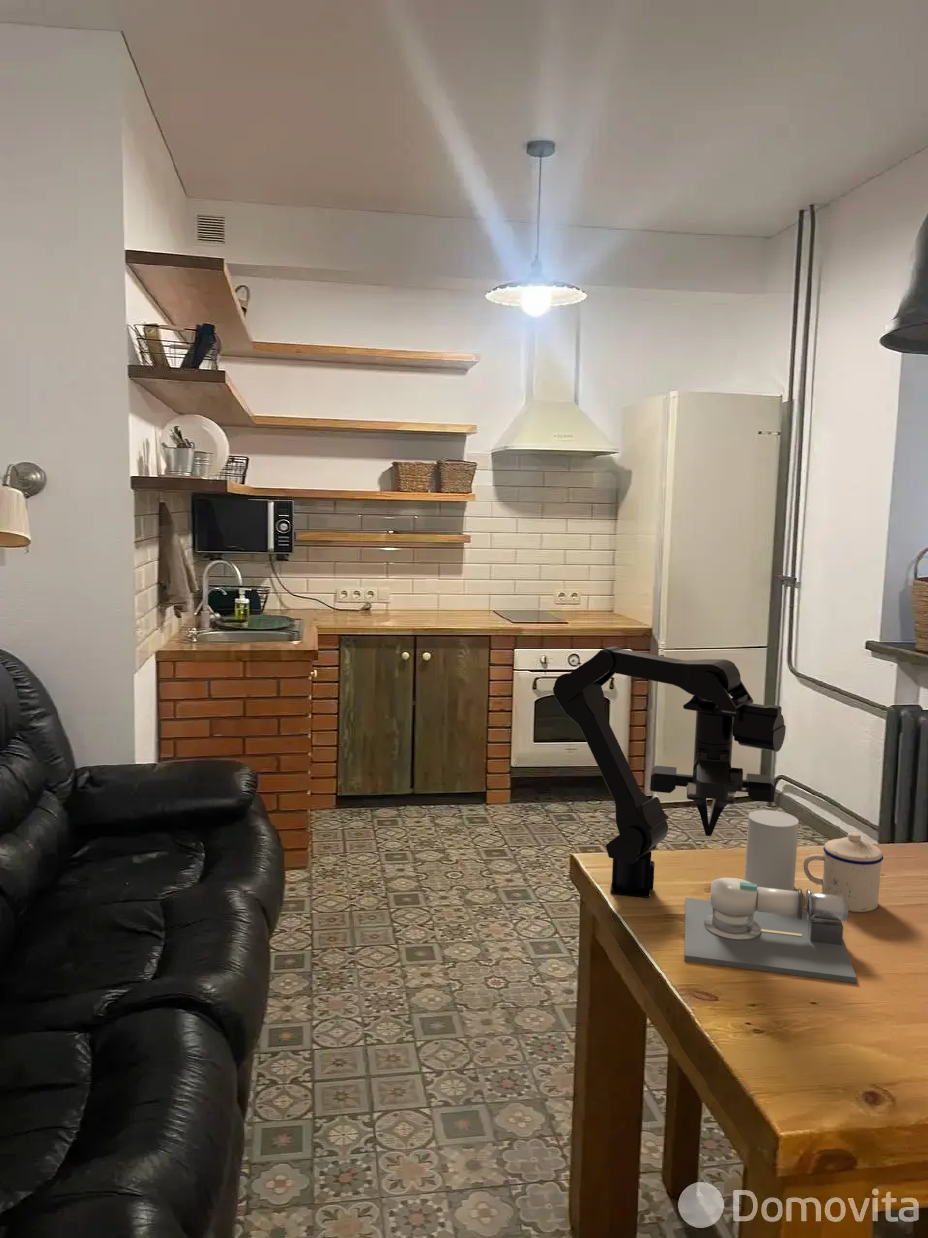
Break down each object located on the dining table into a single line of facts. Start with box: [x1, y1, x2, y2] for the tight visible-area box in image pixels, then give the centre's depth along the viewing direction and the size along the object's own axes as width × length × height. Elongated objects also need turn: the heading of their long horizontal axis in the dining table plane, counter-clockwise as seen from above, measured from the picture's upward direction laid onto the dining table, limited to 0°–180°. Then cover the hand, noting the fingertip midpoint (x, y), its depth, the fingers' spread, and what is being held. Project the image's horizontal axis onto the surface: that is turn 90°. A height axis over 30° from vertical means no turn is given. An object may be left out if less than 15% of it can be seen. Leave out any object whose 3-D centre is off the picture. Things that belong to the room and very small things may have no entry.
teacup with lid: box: [803, 831, 884, 913], centre depth 153 cm, size 12×9×12 cm
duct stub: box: [704, 908, 761, 940], centre depth 141 cm, size 8×8×3 cm
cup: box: [744, 809, 799, 891], centre depth 158 cm, size 8×8×12 cm
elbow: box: [709, 877, 804, 920], centre depth 140 cm, size 13×7×4 cm, turn 75°
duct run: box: [804, 889, 849, 945], centre depth 137 cm, size 6×4×7 cm
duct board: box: [683, 897, 858, 984], centre depth 139 cm, size 23×20×1 cm
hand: (708, 835), depth 147 cm, fingers closed
